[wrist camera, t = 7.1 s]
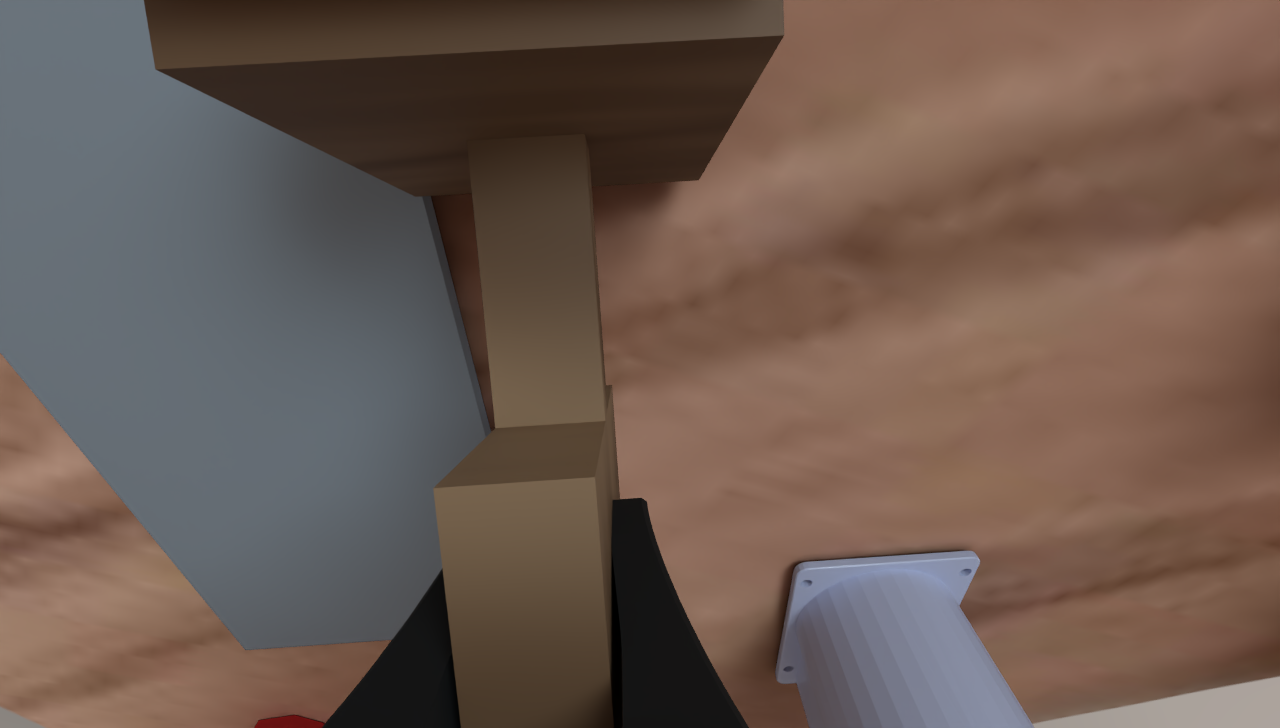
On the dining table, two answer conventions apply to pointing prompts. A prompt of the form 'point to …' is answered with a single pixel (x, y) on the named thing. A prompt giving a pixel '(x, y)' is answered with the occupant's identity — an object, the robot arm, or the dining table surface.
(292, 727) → the french fries
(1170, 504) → the dining table surface
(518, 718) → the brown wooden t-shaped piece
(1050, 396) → the dining table surface
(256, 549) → the mat
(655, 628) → the robot arm
